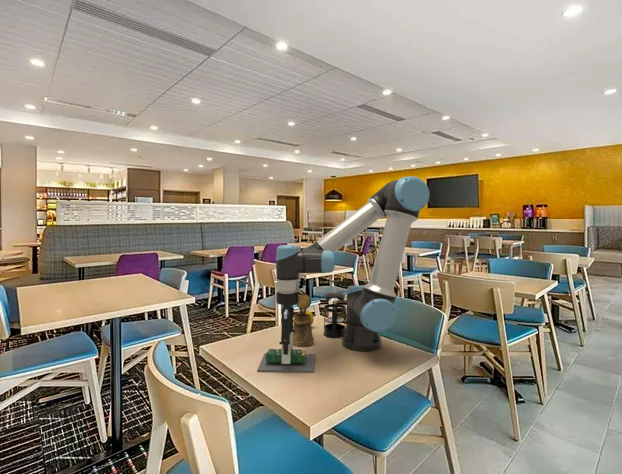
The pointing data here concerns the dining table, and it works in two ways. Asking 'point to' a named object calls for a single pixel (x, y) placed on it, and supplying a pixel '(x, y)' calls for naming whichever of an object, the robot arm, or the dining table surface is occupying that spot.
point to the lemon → (310, 316)
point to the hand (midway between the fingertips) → (287, 357)
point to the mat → (288, 366)
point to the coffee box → (295, 355)
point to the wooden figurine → (303, 324)
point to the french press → (334, 315)
